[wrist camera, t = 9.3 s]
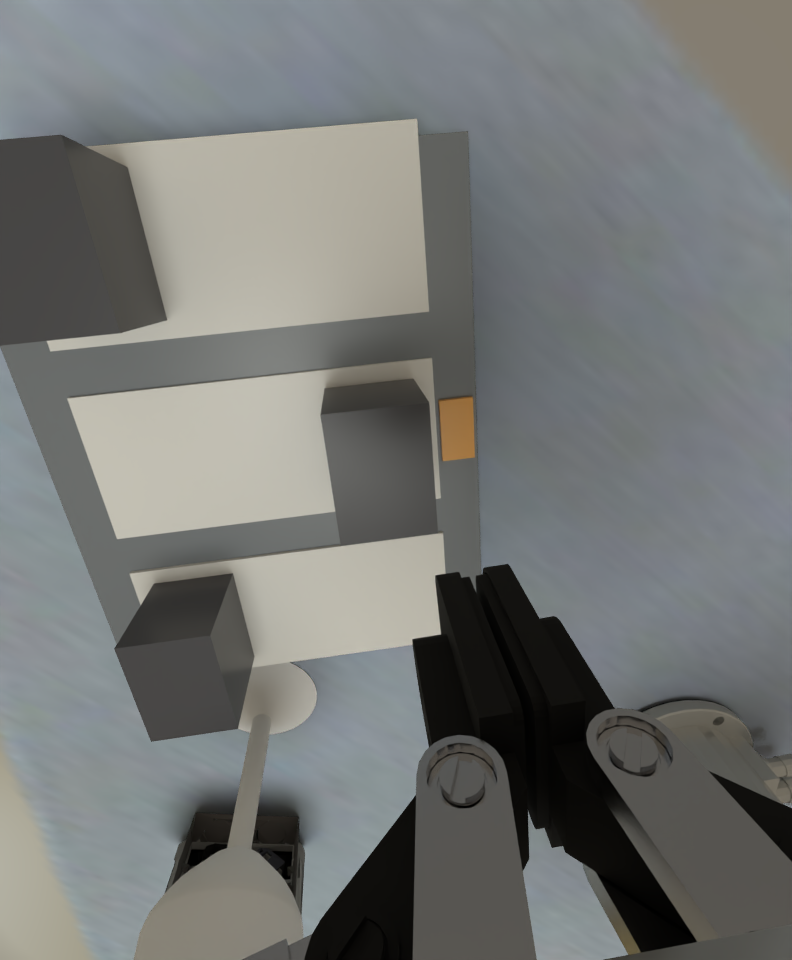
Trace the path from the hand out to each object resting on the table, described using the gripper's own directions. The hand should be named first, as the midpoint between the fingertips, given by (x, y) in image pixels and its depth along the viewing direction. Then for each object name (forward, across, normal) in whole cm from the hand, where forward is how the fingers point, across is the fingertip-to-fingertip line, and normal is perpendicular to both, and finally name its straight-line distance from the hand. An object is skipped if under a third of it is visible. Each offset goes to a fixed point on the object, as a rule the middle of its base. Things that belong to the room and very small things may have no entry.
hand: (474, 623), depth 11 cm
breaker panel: (+17, +7, 0) cm, 18 cm away
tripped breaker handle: (+13, +1, 0) cm, 13 cm away
